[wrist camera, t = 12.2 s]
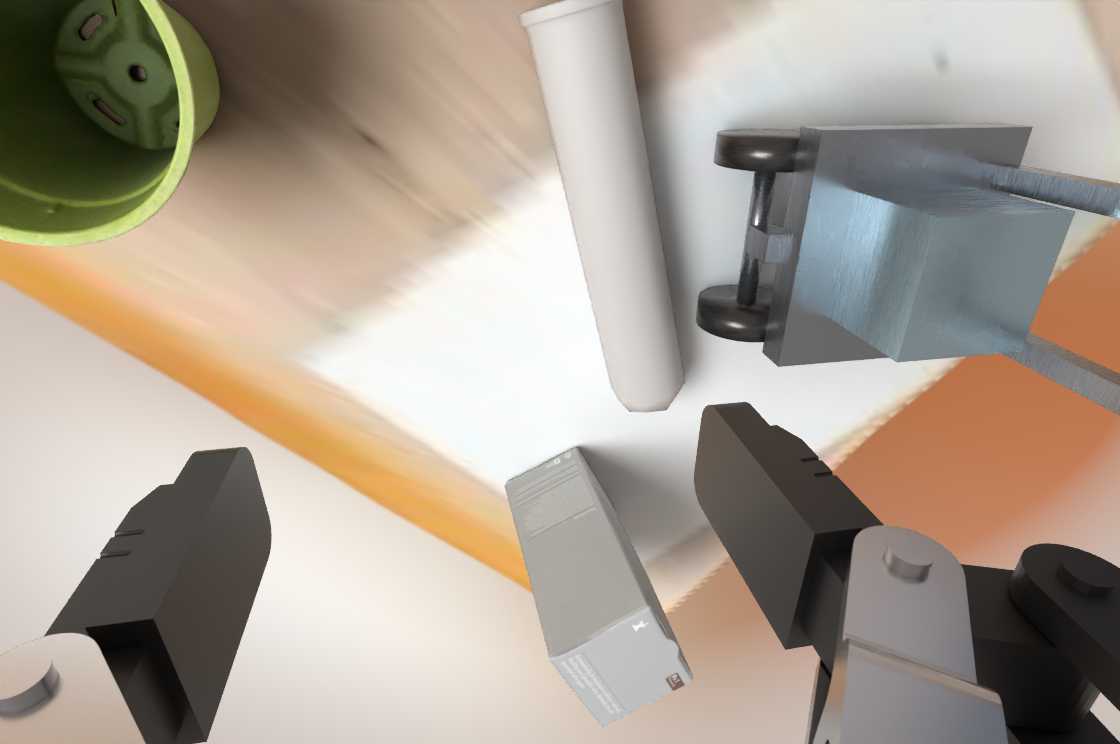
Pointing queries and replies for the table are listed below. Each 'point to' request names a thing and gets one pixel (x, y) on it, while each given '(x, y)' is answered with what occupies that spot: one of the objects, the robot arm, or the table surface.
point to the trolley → (904, 248)
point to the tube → (609, 192)
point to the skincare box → (592, 591)
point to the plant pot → (96, 116)
